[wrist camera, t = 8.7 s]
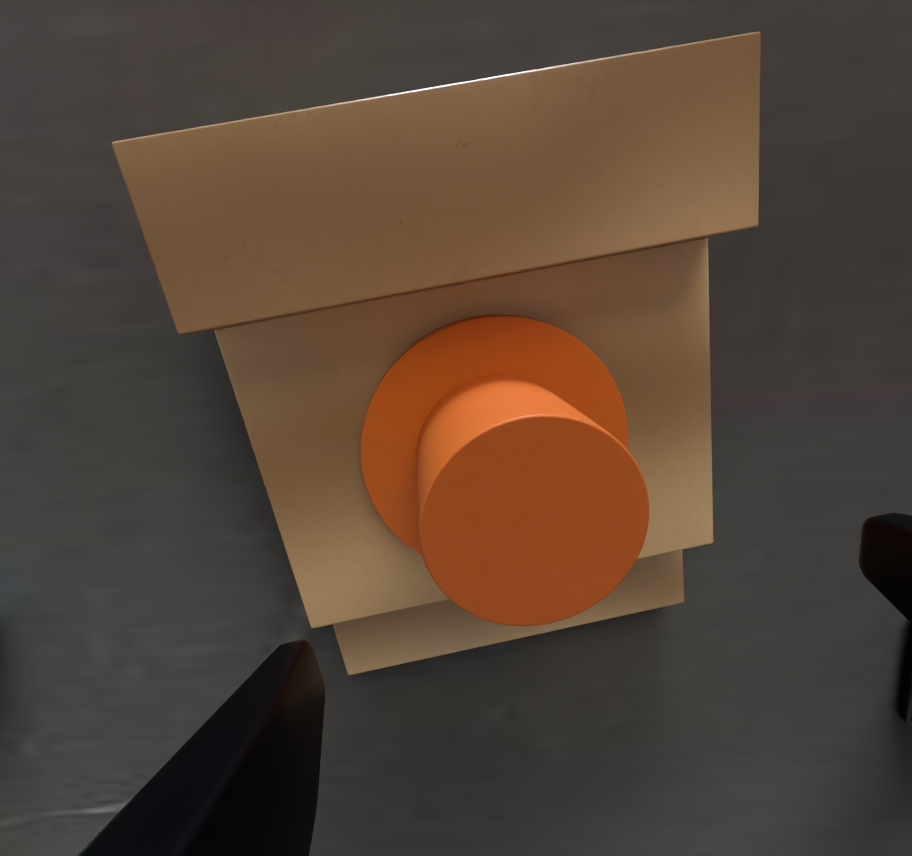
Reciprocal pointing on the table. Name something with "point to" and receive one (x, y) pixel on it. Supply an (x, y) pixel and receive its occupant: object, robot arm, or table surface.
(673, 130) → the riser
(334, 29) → the table surface
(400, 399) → the hat
